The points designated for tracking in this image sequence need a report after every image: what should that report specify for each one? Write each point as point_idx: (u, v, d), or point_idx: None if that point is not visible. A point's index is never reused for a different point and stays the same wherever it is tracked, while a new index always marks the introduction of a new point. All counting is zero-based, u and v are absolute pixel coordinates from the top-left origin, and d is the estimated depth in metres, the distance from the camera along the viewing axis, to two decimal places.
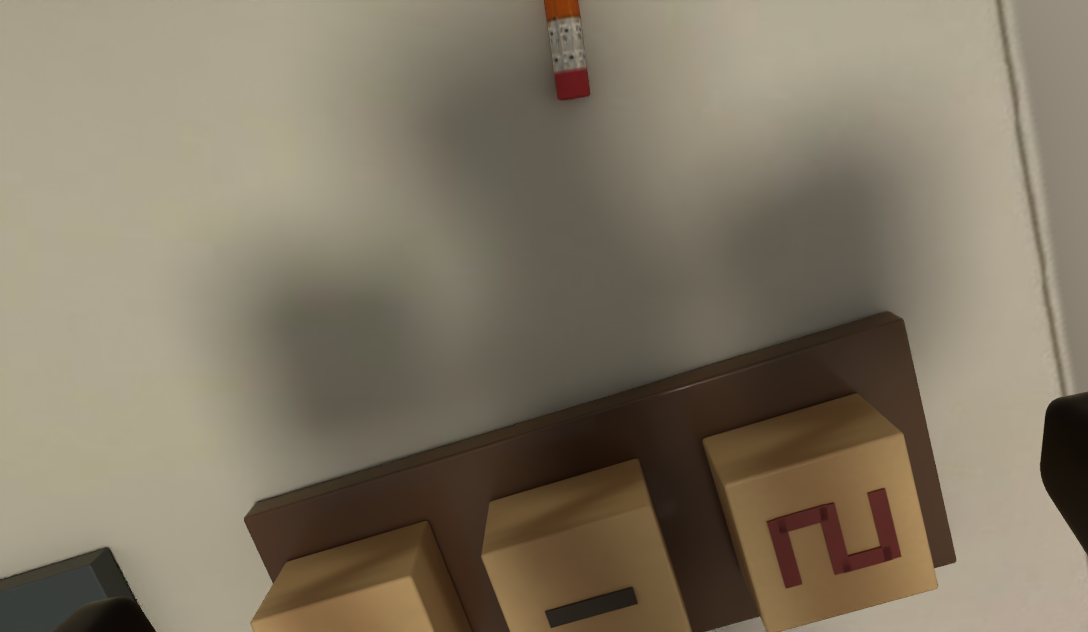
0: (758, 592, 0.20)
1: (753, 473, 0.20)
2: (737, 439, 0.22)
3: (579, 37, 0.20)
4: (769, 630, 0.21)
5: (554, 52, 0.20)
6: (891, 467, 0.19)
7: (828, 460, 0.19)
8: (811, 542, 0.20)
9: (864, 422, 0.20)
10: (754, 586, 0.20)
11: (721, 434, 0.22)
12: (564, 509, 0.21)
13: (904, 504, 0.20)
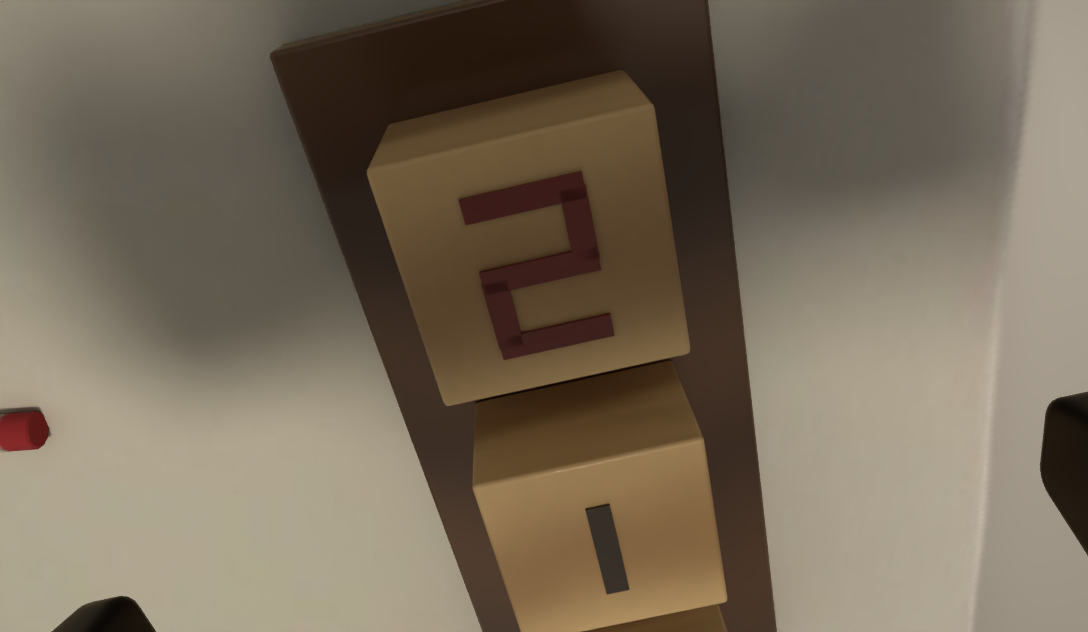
0: (617, 367, 0.14)
1: (432, 367, 0.14)
2: None
3: None
4: (682, 352, 0.14)
5: None
6: (424, 189, 0.12)
7: (410, 278, 0.13)
8: (544, 300, 0.13)
9: None
10: (608, 370, 0.14)
11: None
12: None
13: (490, 167, 0.12)
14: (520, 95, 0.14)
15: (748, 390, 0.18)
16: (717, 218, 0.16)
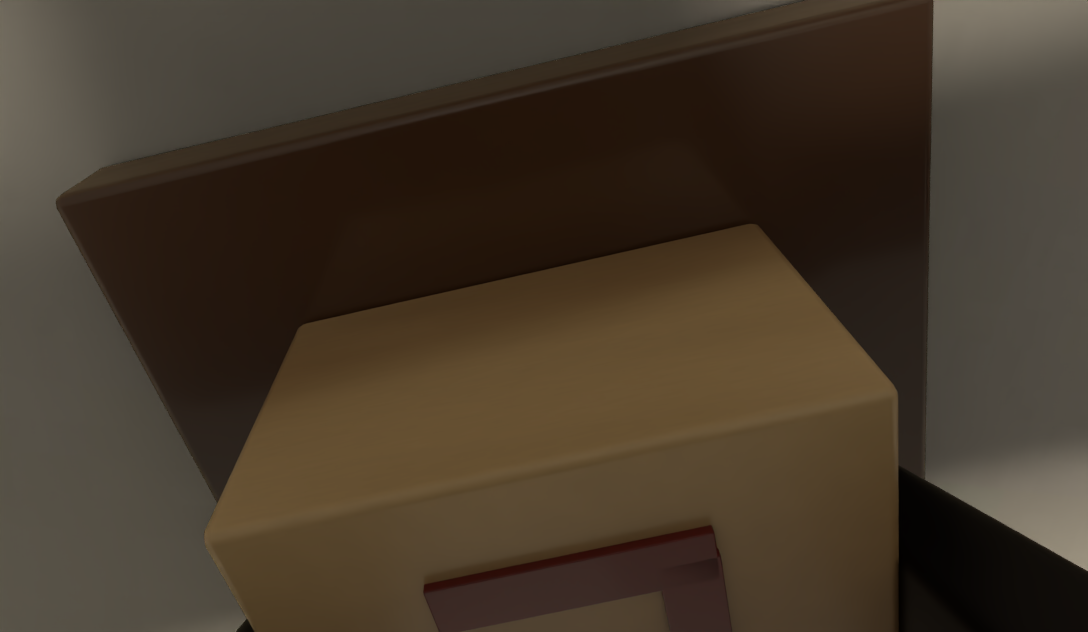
0: None
1: None
2: None
3: None
4: None
5: None
6: (341, 569, 0.05)
7: None
8: None
9: None
10: None
11: None
12: None
13: (497, 524, 0.05)
14: (555, 275, 0.07)
15: None
16: (902, 461, 0.09)
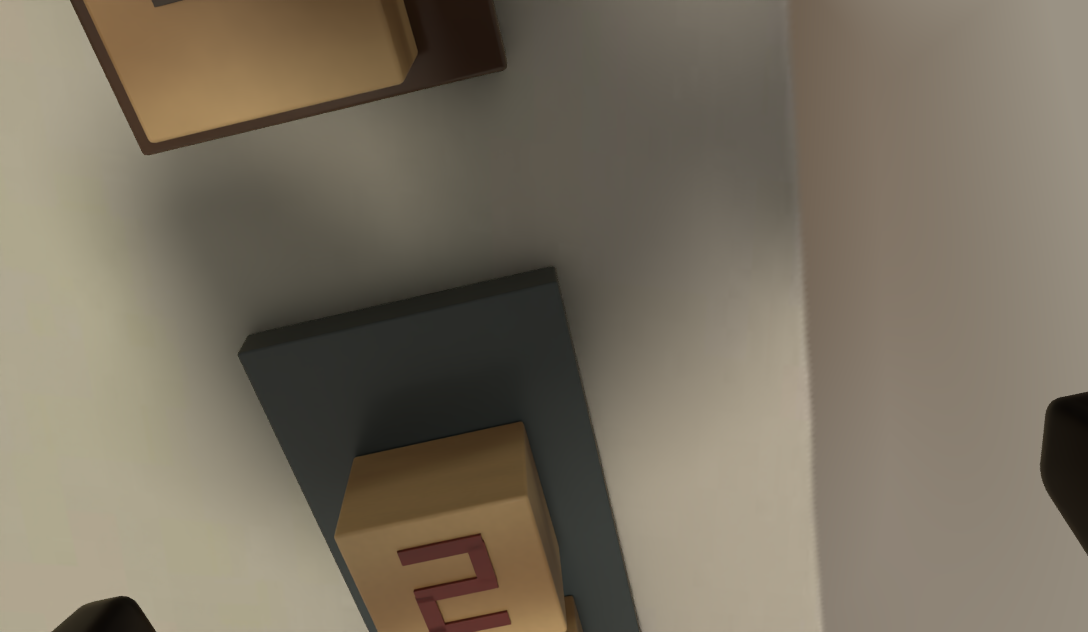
0: None
1: None
2: None
3: None
4: (561, 631, 0.20)
5: None
6: (373, 546, 0.18)
7: (365, 595, 0.19)
8: (460, 604, 0.19)
9: None
10: None
11: None
12: None
13: (418, 533, 0.18)
14: (447, 441, 0.20)
15: None
16: None
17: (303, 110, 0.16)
